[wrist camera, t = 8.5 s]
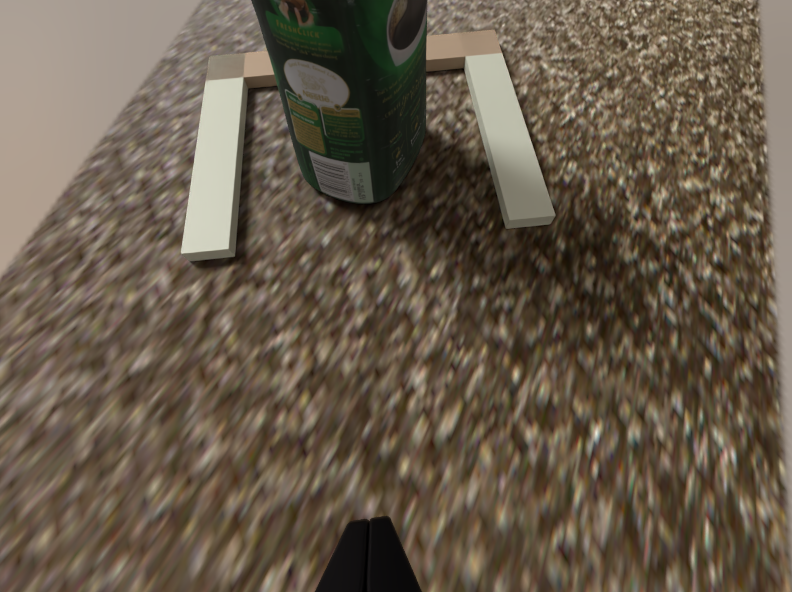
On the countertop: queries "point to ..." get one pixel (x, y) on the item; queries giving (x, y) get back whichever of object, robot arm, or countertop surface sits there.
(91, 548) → the countertop surface
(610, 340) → the countertop surface
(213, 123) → the frame
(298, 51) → the coffee jar
